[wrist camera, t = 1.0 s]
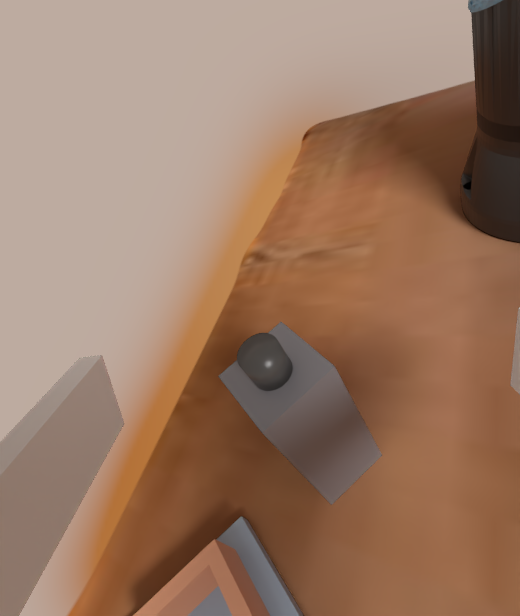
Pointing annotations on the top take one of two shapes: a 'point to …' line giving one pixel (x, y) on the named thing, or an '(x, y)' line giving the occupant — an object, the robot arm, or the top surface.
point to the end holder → (226, 581)
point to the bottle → (302, 409)
